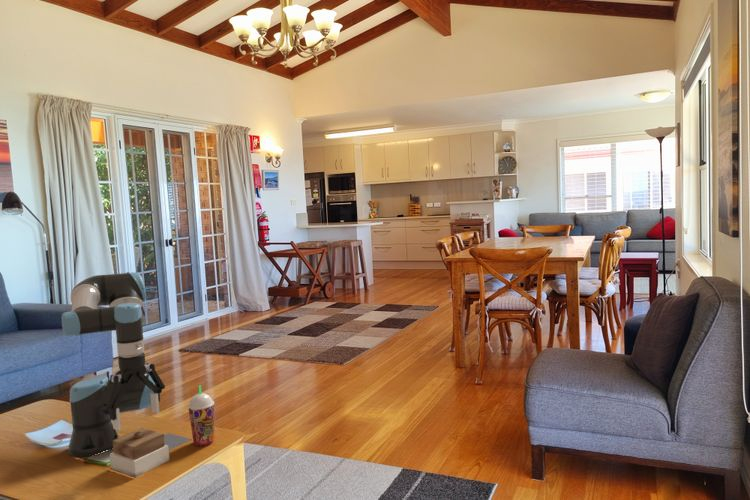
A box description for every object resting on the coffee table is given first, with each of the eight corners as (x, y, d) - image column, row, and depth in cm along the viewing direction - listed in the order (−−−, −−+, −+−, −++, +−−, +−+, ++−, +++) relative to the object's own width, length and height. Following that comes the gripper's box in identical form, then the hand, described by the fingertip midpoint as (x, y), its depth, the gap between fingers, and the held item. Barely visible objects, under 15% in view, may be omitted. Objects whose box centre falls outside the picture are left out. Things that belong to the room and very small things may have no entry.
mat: (139, 447, 187) (138, 446, 187) (168, 434, 197) (168, 432, 197) (162, 454, 181) (162, 453, 181) (192, 440, 191) (191, 439, 191)
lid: (113, 453, 172) (112, 436, 171) (143, 439, 181) (142, 424, 180) (135, 460, 166) (133, 443, 166) (164, 446, 175) (163, 430, 175)
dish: (111, 469, 172) (109, 453, 171) (145, 453, 182) (143, 438, 182) (135, 477, 166) (134, 461, 165) (169, 461, 176) (168, 445, 175)
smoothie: (209, 449, 183) (205, 390, 181) (186, 448, 184) (181, 389, 183) (221, 438, 191) (217, 381, 189) (199, 437, 193) (194, 381, 191)
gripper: (100, 367, 158) (107, 439, 160) (173, 345, 179) (178, 408, 182) (85, 363, 162) (91, 433, 164) (158, 342, 183) (162, 404, 186)
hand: (137, 420), depth 173 cm, fingers open, 13 cm apart
